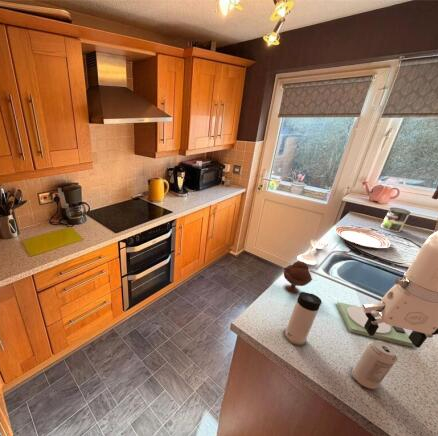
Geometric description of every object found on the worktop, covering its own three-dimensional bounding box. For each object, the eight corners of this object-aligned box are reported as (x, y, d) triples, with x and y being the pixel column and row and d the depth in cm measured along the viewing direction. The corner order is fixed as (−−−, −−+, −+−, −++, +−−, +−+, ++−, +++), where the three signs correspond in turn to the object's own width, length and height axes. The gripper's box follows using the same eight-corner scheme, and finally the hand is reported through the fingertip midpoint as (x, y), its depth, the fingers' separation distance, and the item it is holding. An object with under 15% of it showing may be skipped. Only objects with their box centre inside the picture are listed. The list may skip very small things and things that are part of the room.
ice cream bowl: (274, 281, 112) (282, 255, 105) (299, 283, 110) (308, 257, 104) (283, 297, 102) (292, 269, 96) (310, 299, 101) (321, 272, 94)
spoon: (327, 247, 139) (329, 242, 138) (312, 270, 119) (314, 264, 118) (310, 242, 145) (312, 237, 144) (293, 262, 125) (295, 257, 124)
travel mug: (286, 343, 82) (302, 301, 73) (283, 328, 87) (297, 287, 79) (306, 349, 80) (325, 306, 71) (302, 333, 85) (319, 292, 77)
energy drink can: (367, 371, 73) (388, 339, 66) (381, 392, 67) (406, 359, 61) (346, 368, 74) (365, 336, 67) (358, 388, 68) (380, 355, 62)
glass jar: (391, 232, 157) (401, 213, 151) (376, 225, 166) (385, 207, 160) (405, 231, 158) (415, 212, 152) (389, 225, 167) (398, 207, 161)
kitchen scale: (389, 317, 92) (392, 312, 91) (411, 347, 80) (415, 342, 79) (336, 305, 98) (338, 300, 97) (349, 332, 86) (352, 327, 85)
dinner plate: (387, 239, 149) (390, 234, 147) (390, 257, 130) (392, 252, 129) (335, 226, 165) (336, 222, 164) (330, 240, 147) (332, 236, 145)
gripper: (386, 289, 55) (357, 338, 62) (487, 309, 49) (443, 360, 57) (371, 271, 61) (346, 317, 68) (458, 287, 56) (422, 335, 63)
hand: (390, 337), depth 62 cm, fingers open, 9 cm apart
